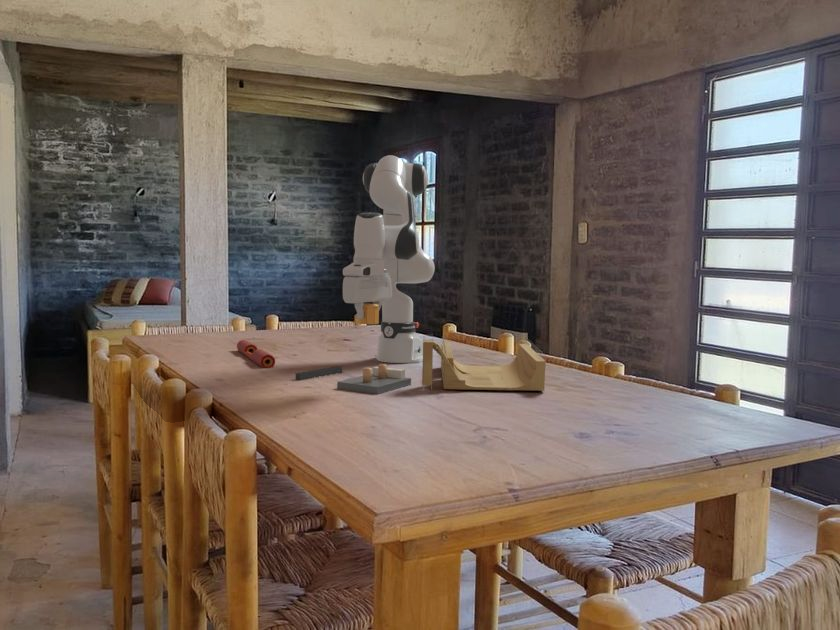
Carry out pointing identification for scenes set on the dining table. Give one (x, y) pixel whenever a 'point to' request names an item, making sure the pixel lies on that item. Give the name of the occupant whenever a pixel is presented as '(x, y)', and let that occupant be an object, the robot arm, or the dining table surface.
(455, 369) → the skate ramp
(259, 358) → the blood vessel
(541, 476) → the dining table surface
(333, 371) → the dark grey bar
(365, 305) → the cylinder
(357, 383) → the board
